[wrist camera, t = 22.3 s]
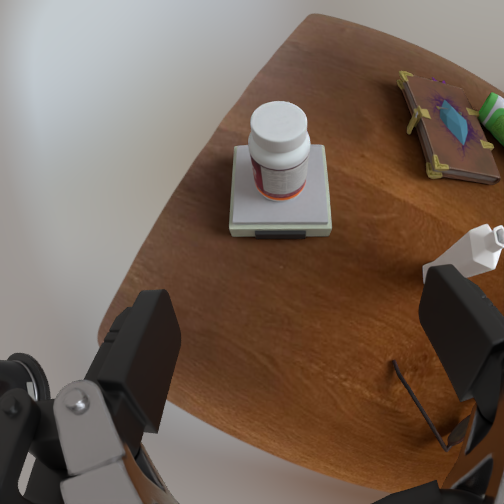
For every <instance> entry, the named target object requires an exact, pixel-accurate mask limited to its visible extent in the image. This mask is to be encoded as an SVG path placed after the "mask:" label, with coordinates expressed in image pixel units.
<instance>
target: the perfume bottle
mask: <svg viewBox="0 0 504 504" xmlns="http://www.w3.org/2000/svg"><path fill="white" fill-rule="evenodd" d="M502 248H504V227H503V226H502V225H500V226H498V227H495V228H494V229H493V231H492V230H491V228H490V227H489V226H488V224H485V225H482V226H480V227H477V228H474V229H472V230H470V231H469V232H468V233H466V234H465V235H464V236H463V237H462V238H461V239H460V240H459V241H457V242H456V243H455V244H454V245H453V246H452V247H450V248H449V249H448V250H447V251H446V252H445V253H443V254H442V255H441V256H440V257H439V258H437V259H436V260H435V261H433V262H430V263H428V264H425V265H423V267H422V268H423V282H424V283H425V278H426V274H427V271H428V269H429V267H431V266H438V265H445V264H452V265H453V266H455V268H456V269H457V270H458V271H459V272H460V273H461V274H462V275H463V277H465V278H467V277H471V276H474V275H478V274H481V273H484V272H487V271H490V270H494V269H495V267H496V265H497V262H498V259H499V256H500V253H501V250H502Z"/></svg>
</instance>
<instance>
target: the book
mask: <svg viewBox="0 0 504 504" xmlns="http://www.w3.org/2000/svg"><path fill="white" fill-rule="evenodd" d="M399 75H400V77H401V79H402V80H397V85H398V86H399V88H400V89H401V90H402V92H403V95H404V97H405V100H406V102H407V105H408V108H409V110H410V113H411V116H412V118H411V120H410V122H409V124H408V126H407V134H409V135H410V133H411V131H412V129H413V127H416V130H417V133H418V136H419V140H420V143H421V146H422V149H423V153H424V156H425V160H426V173H427V175H428V177H429V178H432V179H435V178H442V177H447V178H454V179H461V180H467V181H473V182H479V183H485V184H490V185H494V184H496V183H498V182H499V181H500V175H499V172H498V169H497V166H496V163H495V161H494V158H493V155H492V152H491V150H492V149H493V148H494V146H493V144H491V143H488V142H487V140H486V137H485V135H484V133H483V130H482V128H481V126H480V124H479V121H478V119H477V118H478V116H479V115H480V114H479V112H478V111H475V110H473V109H472V107H471V105H470V103H469V101H468V99H467V97H466V95H465V93H464V91H463V89H461V88H458V87H455V86H452V85H448V84H446V83H445V81H443V82H442V83H441V82H438V81H436V80H435V79H434V78H433V77H432V79H433V80H430V79H426V78H422V77H418V76H414V75H412V74H411V73H408V72H405V71H399Z"/></svg>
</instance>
